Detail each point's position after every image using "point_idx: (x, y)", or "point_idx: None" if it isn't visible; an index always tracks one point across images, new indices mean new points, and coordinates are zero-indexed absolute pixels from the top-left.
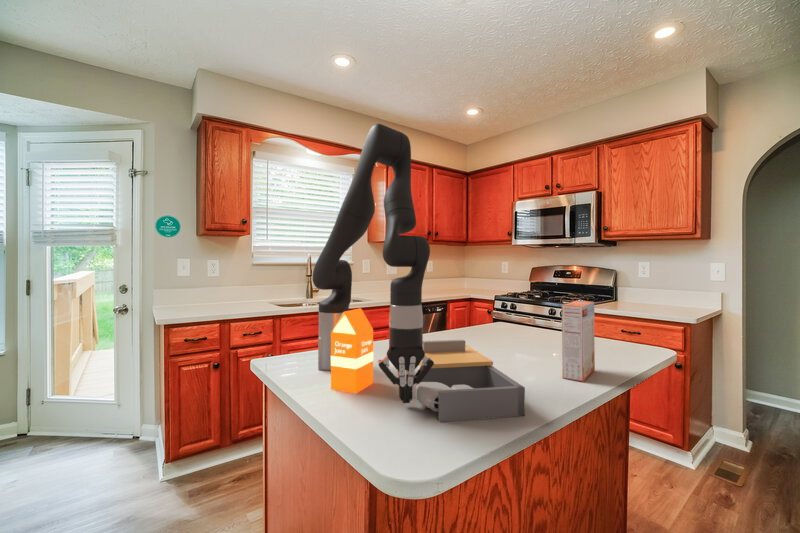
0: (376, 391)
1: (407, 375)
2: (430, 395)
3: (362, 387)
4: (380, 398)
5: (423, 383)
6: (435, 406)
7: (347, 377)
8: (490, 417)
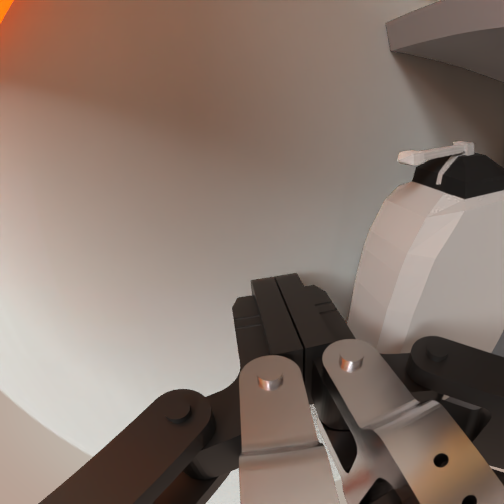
0: (76, 13)
1: (358, 421)
2: None
3: (1, 7)
4: (97, 136)
5: (458, 250)
6: None
7: None
8: None
